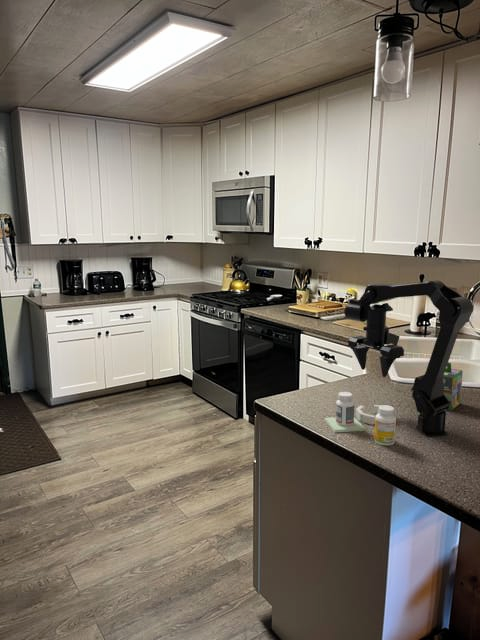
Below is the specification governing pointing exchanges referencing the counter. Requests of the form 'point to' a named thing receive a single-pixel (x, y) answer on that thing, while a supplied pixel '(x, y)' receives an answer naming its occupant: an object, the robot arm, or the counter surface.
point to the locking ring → (366, 415)
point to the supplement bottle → (385, 426)
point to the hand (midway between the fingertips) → (373, 373)
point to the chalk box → (452, 386)
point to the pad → (341, 428)
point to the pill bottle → (345, 409)
